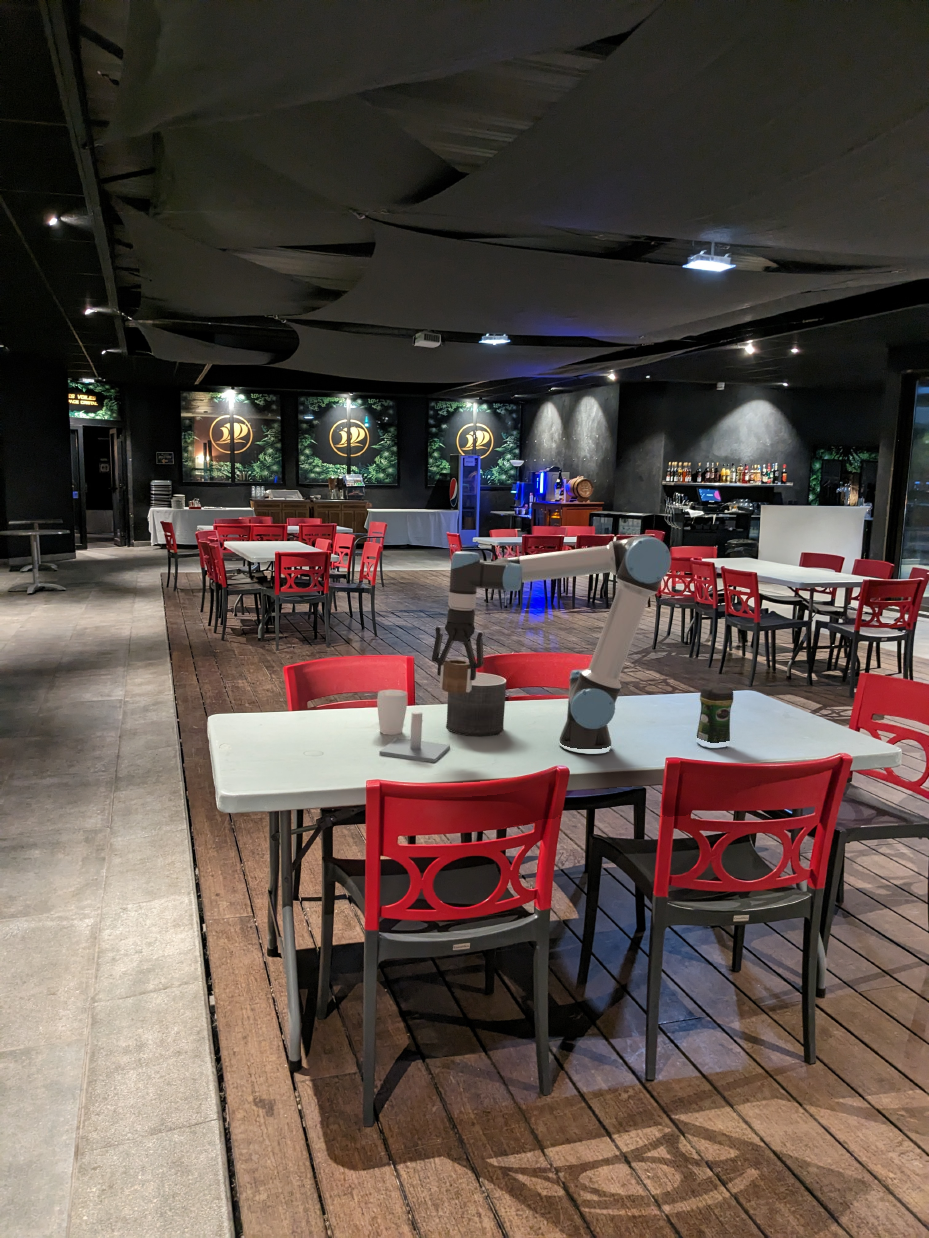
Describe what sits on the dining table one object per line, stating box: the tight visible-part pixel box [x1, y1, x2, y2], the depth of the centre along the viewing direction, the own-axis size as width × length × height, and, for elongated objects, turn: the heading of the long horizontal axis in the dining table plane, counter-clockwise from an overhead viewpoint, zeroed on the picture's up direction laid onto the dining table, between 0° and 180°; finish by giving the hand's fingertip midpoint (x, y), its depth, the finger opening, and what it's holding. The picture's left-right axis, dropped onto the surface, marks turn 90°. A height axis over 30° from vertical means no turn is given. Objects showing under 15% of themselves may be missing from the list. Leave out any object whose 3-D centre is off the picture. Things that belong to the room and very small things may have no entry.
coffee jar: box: [696, 685, 734, 743], centre depth 258 cm, size 10×8×19 cm
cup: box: [376, 689, 408, 736], centre depth 255 cm, size 9×9×12 cm
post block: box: [379, 711, 451, 764], centre depth 238 cm, size 16×14×11 cm
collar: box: [441, 658, 470, 693], centre depth 237 cm, size 7×7×8 cm
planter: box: [446, 672, 507, 737], centre depth 264 cm, size 18×18×16 cm
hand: (455, 689), depth 238 cm, fingers closed on collar, 7 cm apart
